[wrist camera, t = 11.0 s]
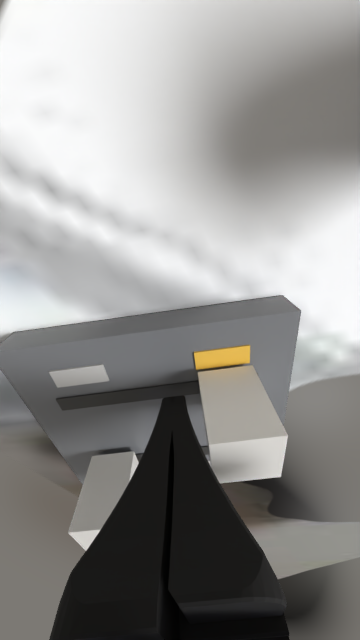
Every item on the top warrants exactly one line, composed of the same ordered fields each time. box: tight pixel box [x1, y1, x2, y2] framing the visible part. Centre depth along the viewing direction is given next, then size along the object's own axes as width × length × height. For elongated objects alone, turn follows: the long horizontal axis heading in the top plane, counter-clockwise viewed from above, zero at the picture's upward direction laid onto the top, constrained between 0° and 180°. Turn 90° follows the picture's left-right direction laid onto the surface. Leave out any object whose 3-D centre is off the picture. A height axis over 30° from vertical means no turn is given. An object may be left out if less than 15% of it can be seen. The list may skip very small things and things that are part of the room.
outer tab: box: [198, 365, 288, 483], centre depth 11 cm, size 3×3×4 cm
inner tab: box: [68, 451, 139, 551], centre depth 14 cm, size 3×3×4 cm
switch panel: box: [0, 295, 301, 485], centre depth 15 cm, size 15×16×2 cm
